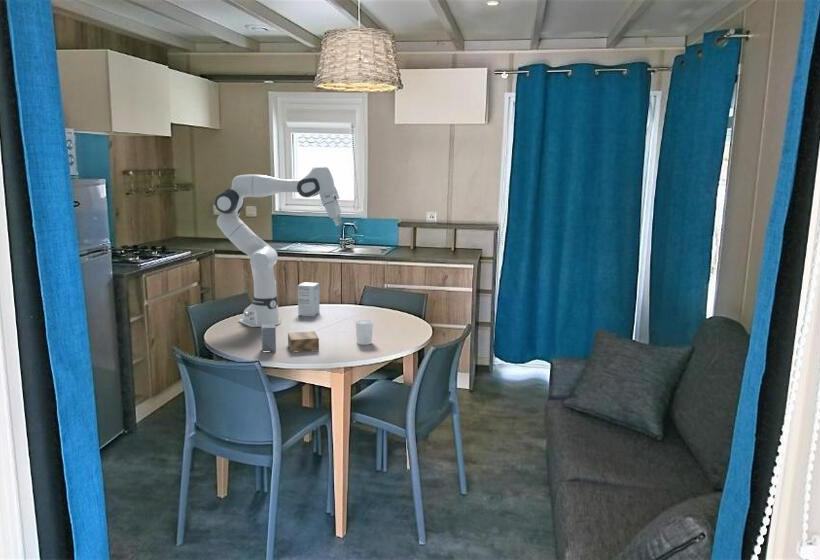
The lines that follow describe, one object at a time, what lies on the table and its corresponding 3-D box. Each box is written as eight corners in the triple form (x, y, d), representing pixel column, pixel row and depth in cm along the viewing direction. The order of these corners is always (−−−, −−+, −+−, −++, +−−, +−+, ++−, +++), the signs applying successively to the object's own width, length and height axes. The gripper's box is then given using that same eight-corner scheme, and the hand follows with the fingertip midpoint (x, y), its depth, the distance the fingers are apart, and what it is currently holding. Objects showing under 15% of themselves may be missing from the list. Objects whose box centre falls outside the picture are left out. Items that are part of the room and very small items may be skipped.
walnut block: (291, 353, 279) (291, 339, 277) (288, 345, 290) (287, 333, 289) (318, 351, 282) (318, 338, 281) (314, 343, 293) (314, 331, 292)
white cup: (356, 340, 299) (356, 319, 297) (373, 340, 299) (373, 320, 297) (354, 345, 291) (354, 323, 289) (372, 345, 291) (372, 324, 289)
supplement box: (304, 311, 355) (303, 281, 352) (320, 312, 353) (319, 282, 350) (297, 315, 346) (297, 285, 343) (314, 316, 344) (313, 285, 341)
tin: (262, 352, 278) (262, 328, 276) (261, 349, 283) (261, 325, 281) (276, 351, 279) (275, 327, 277) (274, 348, 285) (274, 324, 283)
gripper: (326, 198, 325) (335, 224, 328) (320, 201, 305) (330, 228, 307) (338, 194, 325) (347, 220, 327) (333, 197, 304) (342, 224, 307)
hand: (338, 224), depth 317 cm, fingers open, 8 cm apart
